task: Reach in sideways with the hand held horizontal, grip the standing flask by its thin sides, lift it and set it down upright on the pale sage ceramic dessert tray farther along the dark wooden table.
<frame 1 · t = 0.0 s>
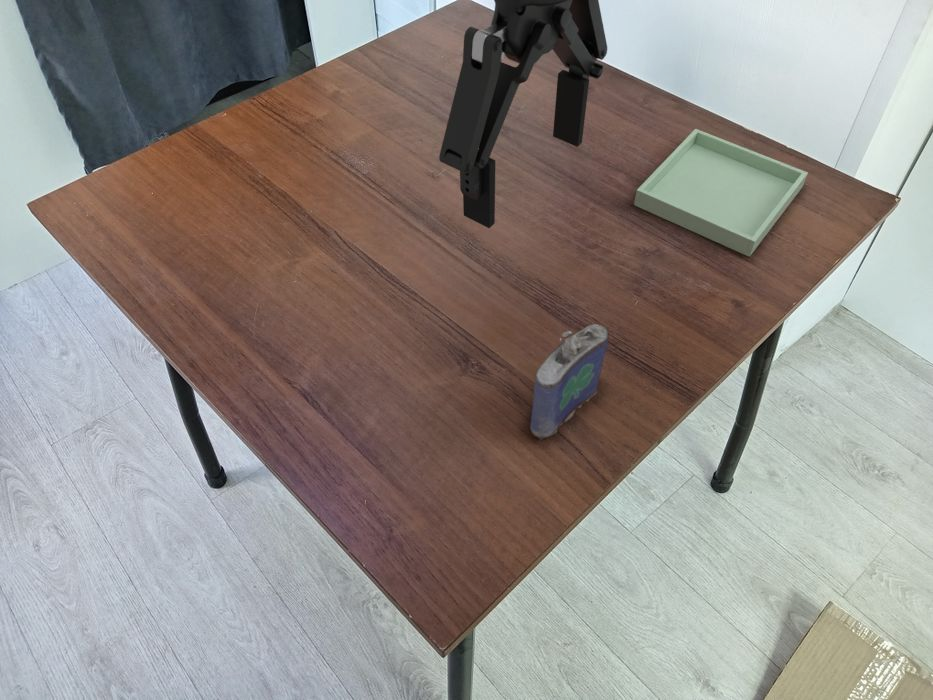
hand: (525, 178, 69), 19 cm above the table, tool pointing down, fingers open, 13 cm apart
dessert tray: (718, 196, 96), on the table
flask: (563, 408, 77), on the table
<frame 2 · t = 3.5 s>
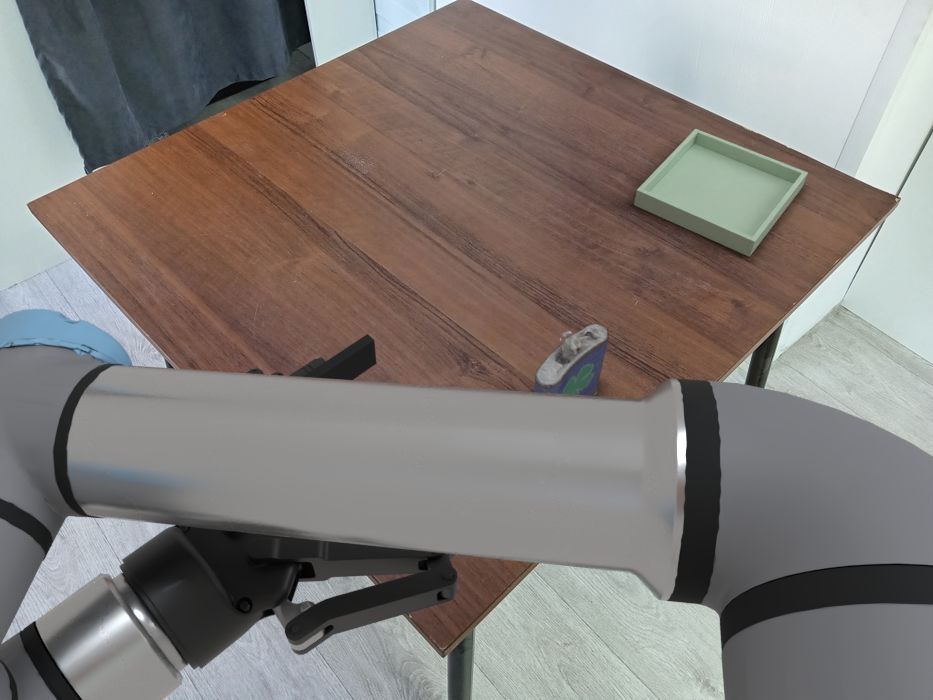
hand: (436, 406, 53), 20 cm above the table, tool horizontal, fingers open, 13 cm apart
nothing on the table moved.
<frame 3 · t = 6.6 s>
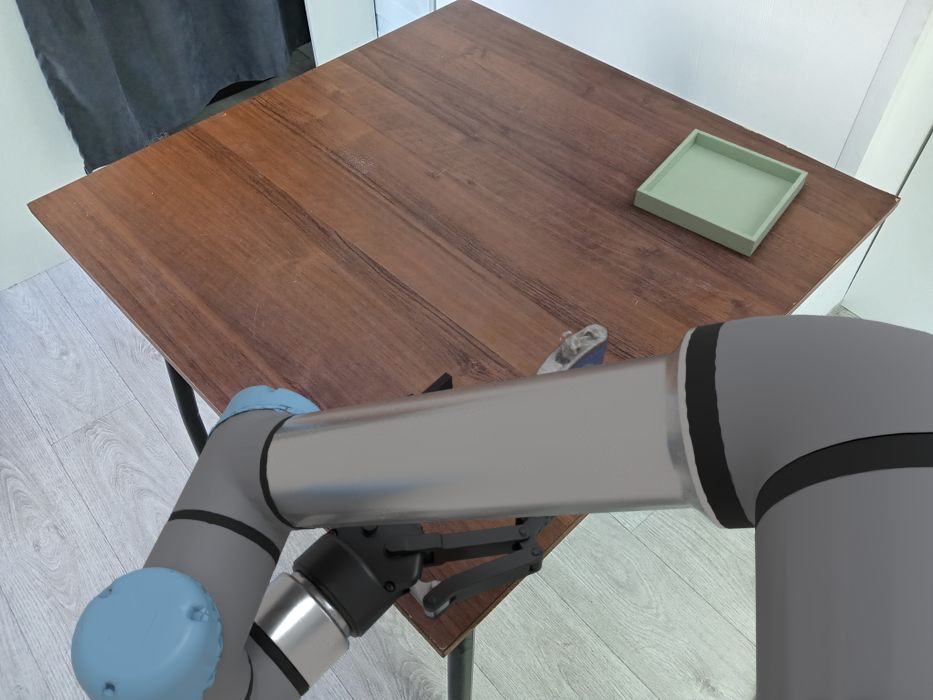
hand: (507, 424, 67), 7 cm above the table, tool horizontal, fingers open, 13 cm apart
nothing on the table moved.
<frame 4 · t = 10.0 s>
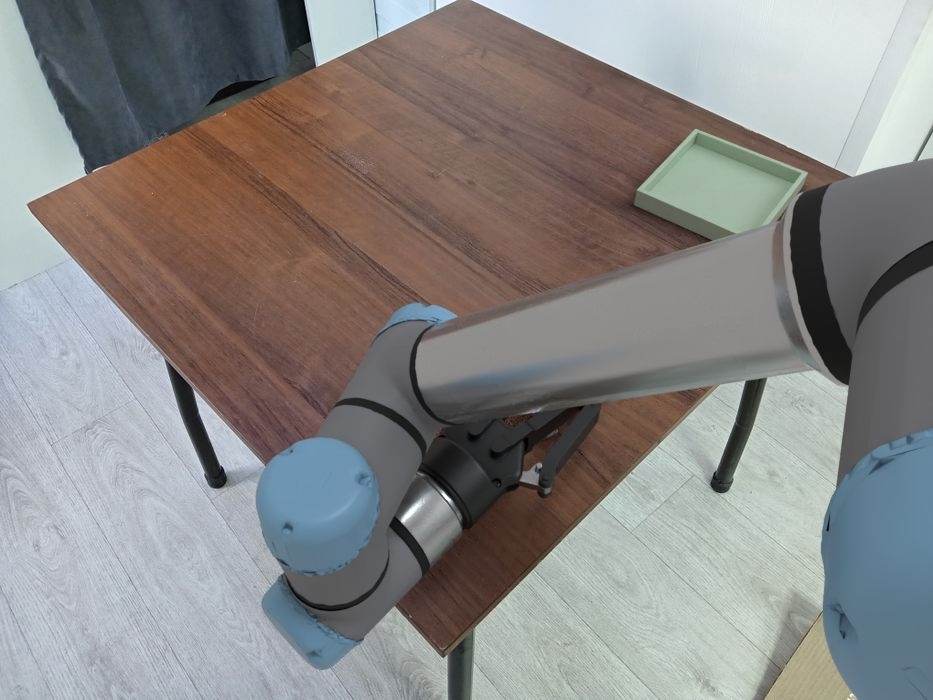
hand: (604, 335, 74), 6 cm above the table, tool horizontal, fingers closed on flask, 3 cm apart
flask: (563, 408, 77), on the table, touching gripper
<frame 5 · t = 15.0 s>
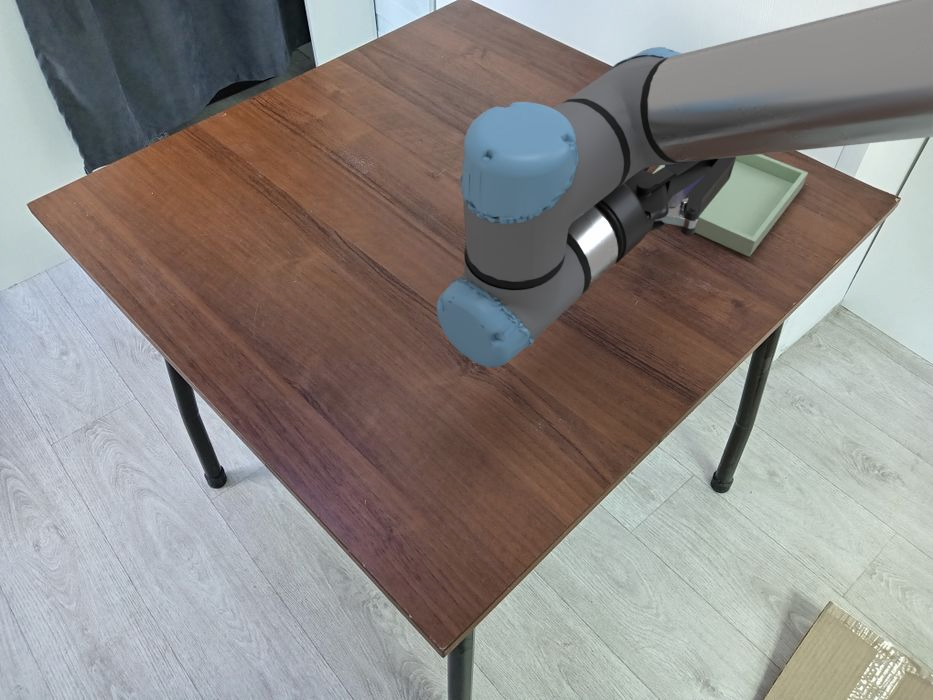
hand: (727, 110, 77), 18 cm above the table, tool horizontal, fingers closed on flask, 3 cm apart
flask: (684, 188, 80), point 11 cm above the table, touching gripper
when the fingers open (7 cm above the table, at t = 20.1 s): flask stays where it is, resting on dessert tray.
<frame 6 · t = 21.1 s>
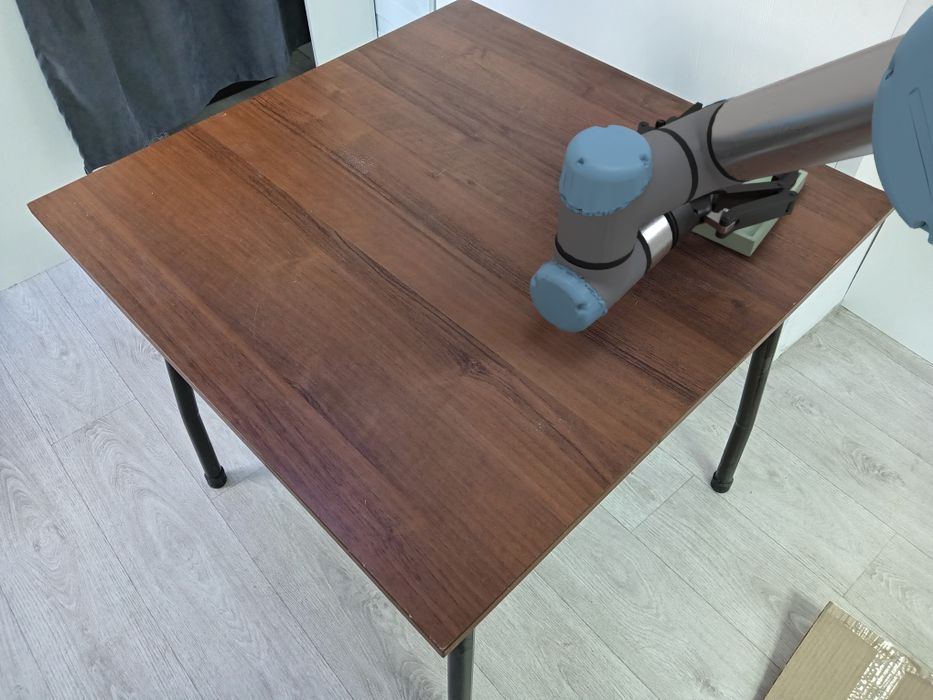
hand: (748, 134, 92), 7 cm above the table, tool horizontal, fingers open, 13 cm apart
flask: (719, 193, 96), resting on dessert tray
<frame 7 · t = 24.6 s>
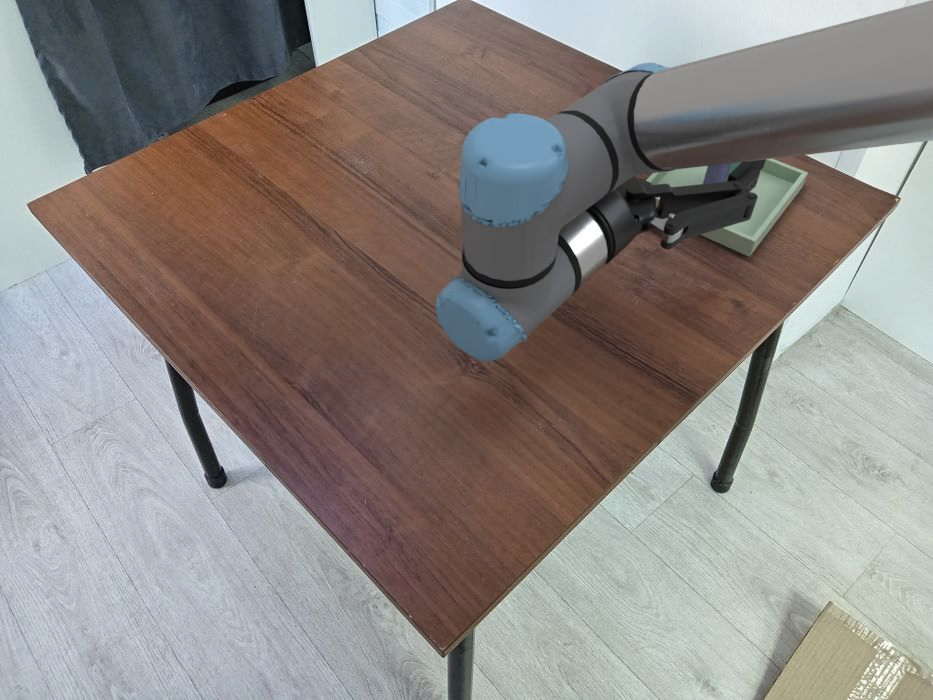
hand: (703, 128, 80), 15 cm above the table, tool horizontal, fingers open, 13 cm apart
nothing on the table moved.
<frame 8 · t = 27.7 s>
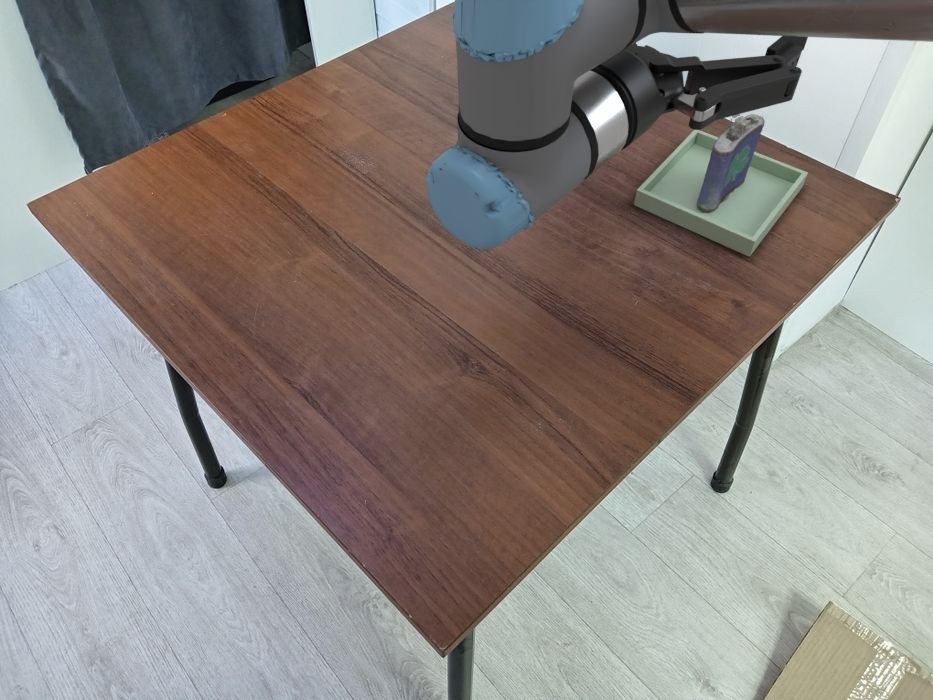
hand: (735, 7, 70), 28 cm above the table, tool horizontal, fingers open, 13 cm apart
nothing on the table moved.
at the end: flask inside the target area in the dessert tray (0.0 cm from its centre), point 0.4 cm above the dessert tray's base; flask tilted 1°; the gripper is holding nothing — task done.
